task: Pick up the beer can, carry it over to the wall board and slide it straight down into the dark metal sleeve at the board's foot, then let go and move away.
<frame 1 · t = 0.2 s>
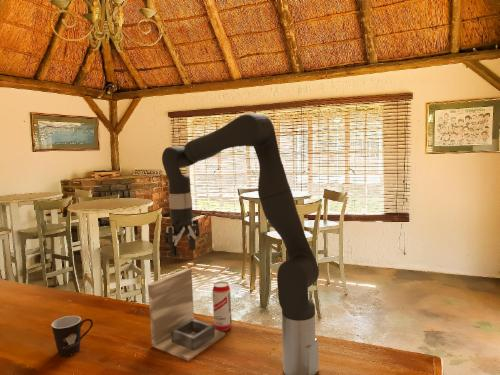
hand: (183, 253, 133), 28 cm above the bar counter, tool pointing down, fingers open, 8 cm apart
beer can: (223, 328, 139), on the bar counter
can rack: (193, 342, 129), on the bar counter
coffee mug: (74, 350, 127), on the bar counter
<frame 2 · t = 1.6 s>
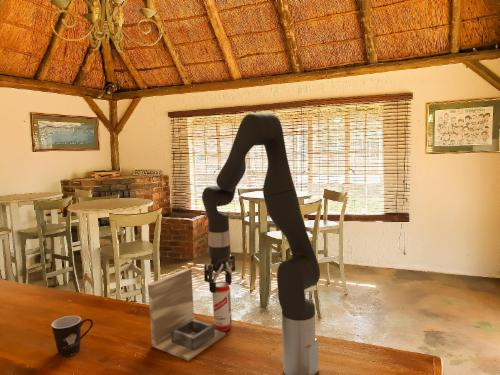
hand: (221, 288, 137), 15 cm above the bar counter, tool pointing down, fingers open, 8 cm apart
nothing on the bar counter moved.
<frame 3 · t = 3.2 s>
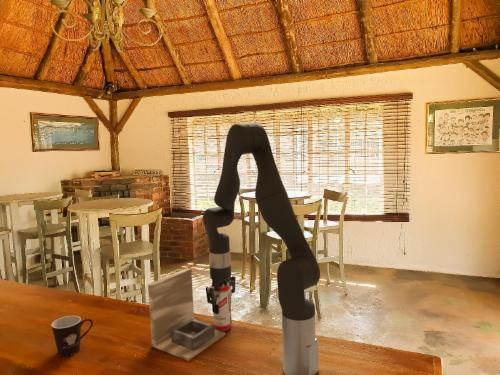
hand: (222, 309, 138), 7 cm above the bar counter, tool pointing down, fingers closed on beer can, 6 cm apart
beer can: (223, 328, 139), on the bar counter, touching gripper
everything else where it was.
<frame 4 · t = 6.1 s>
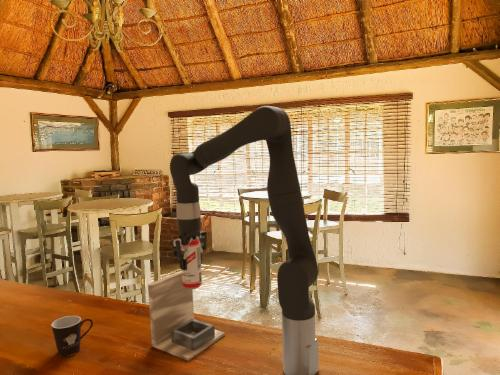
hand: (191, 266, 127), 26 cm above the bar counter, tool pointing down, fingers closed on beer can, 6 cm apart
beer can: (192, 287, 128), point 19 cm above the bar counter, touching gripper
everything else where it was.
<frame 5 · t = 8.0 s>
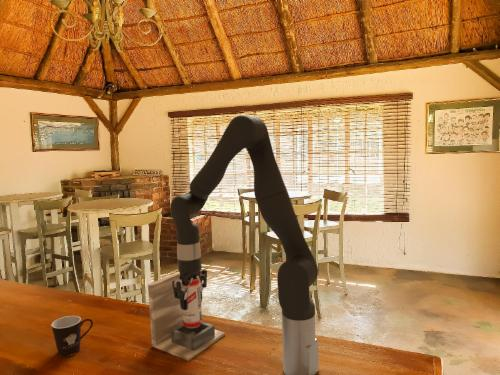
hand: (191, 305, 128), 13 cm above the bar counter, tool pointing down, fingers closed on beer can, 6 cm apart
beer can: (192, 325, 129), point 6 cm above the bar counter, touching gripper
everything else where it was.
when the fingers open (9 cm above the bar counter, at t = 9.4 s): beer can stays where it is, resting on can rack.
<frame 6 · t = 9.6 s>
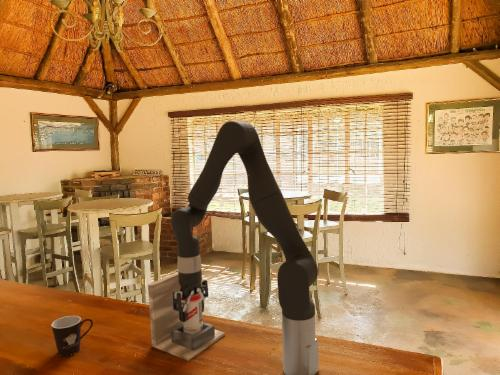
hand: (192, 316, 128), 9 cm above the bar counter, tool pointing down, fingers open, 8 cm apart
beer can: (193, 340, 129), point 1 cm above the bar counter, touching can rack
everything else where it was.
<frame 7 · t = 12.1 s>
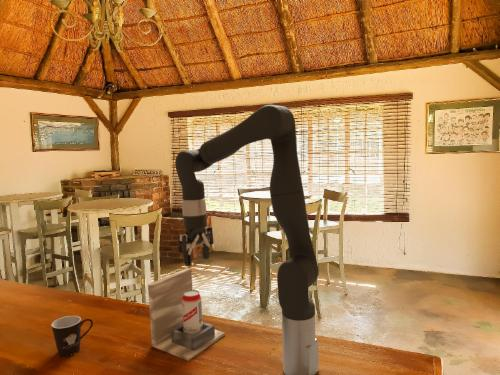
hand: (197, 262, 127), 27 cm above the bar counter, tool pointing down, fingers open, 8 cm apart
nothing on the bar counter moved.
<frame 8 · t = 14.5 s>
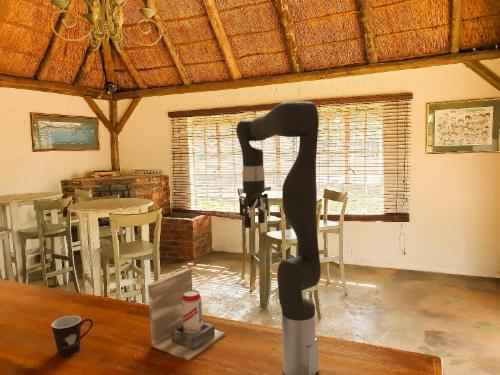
hand: (255, 225, 137), 36 cm above the bar counter, tool pointing down, fingers open, 8 cm apart
nothing on the bar counter moved.
at the end: beer can 0.1 cm off-centre on the can rack, point 0.8 cm above the can rack's base; beer can tilted 0°; the gripper is holding nothing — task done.
